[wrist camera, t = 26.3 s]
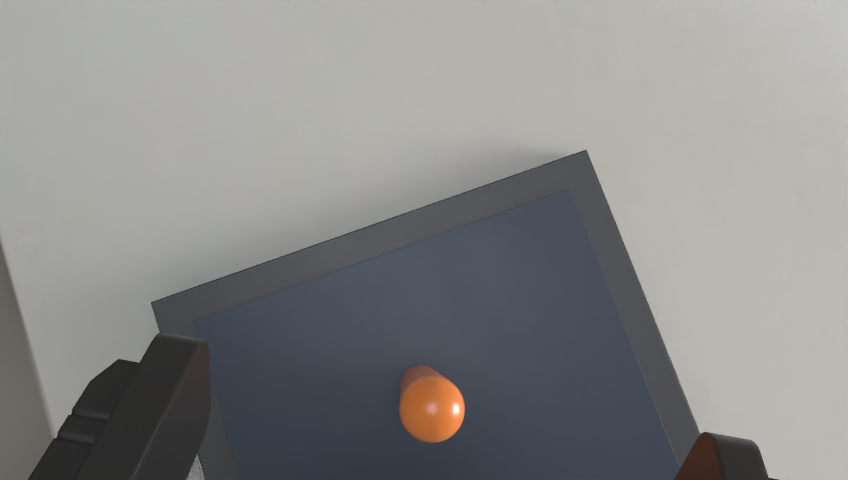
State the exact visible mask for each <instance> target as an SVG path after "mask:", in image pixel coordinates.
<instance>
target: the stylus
mask: <svg viewBox="0 0 848 480" xmlns="http://www.w3.org/2000/svg"><path fill="white" fill-rule="evenodd" d="M464 414H465V405H464V400H463V397H462V394H461V392H460V391H459V389H458V388H457V387H456V386H455V385H454V384H453V383H452V382H451V381H449V380H448V379H446V378H445V377H443V376H442V375H441V374H439V373H438V372H436V371H435V370H433V369H432V368H430V367H428V366H425V365H415V366H413V367H411V368H409V369H408V370H407V371H406V372H405V373H404V375H403V377H402V381H401V391H400V402H399V415H400V419H401V422H402V424H403V426H404V428H405V429H406V430H407V432H408V433H409V434H410V435H412V436H413V437H414V438H416V439H418V440H420V441H423V442H427V443H437V442H441V441H444V440H447V439H448V438H450V437H451V436H453V435H454V434H455V433H456V432H457V431H458V429H459V428H460V426H461V424H462V422H463V419H464Z"/></svg>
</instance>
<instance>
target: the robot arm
mask: <svg viewBox="0 0 848 480" xmlns="http://www.w3.org/2000/svg"><path fill="white" fill-rule="evenodd" d="M210 411H211V383H210V358H209V345H208V342H207V341H206V340H202V339H196V338H190V337H185V336H179V335H174V334H168V333H163V332H161V333H158V334H157V335H156V336H155V338H154V339H153V341H152V342H151V344H150V346H149V347H148V349H147V351H146V353H145V354H144V356H143V358H142V360H141V361H140V363H138V362H132V361H127V360H121V359H118V360H117V361H115V362H114V363H113V364H112V365H110V366H109V367H108V368H106V369H105V370H104V371H103V372H101V373H100V374H99V375H97V376H96V377H95V378H94V379H92V380H91V381H90V382H89V384H88V385H87V387H86V388H85V390H84V392H83V393H82V395H81V396H80V398H79V399H78V401H77V403H76V404H75V406H74V407H73V409H72V414H71V415H68V417H67V418H66V420H65V422H64V423H63V425H62V426H61V428H60V430H59V431H58V435H57V438H56V439H55V438H54V439H53V441H52V442H51V444H50V445H49V447H48V449H47V450H46V452H45V453H44V455H43V456H42V458H41V460H40V461H39V463H38V465H37V466H36V468H35V470H34V471H33V472H32V474H31V475H30V477H29V479H28V480H186V478H187V476H188V474H189V471H190V469H191V467H192V464H193V462H194V460H195V457H196V455H197V453H198V450H199V448H200V446H201V443H202V441H203V439H204V436H205V433H206V429H207V426H208V422H209V417H210ZM674 480H777V479H772V478H768V475H767V472H766V468H765V465H764V462H763V459H762V456H761V453H760V450H759V448H758V446H757V445H756V444H755V442H753V441H752V440H747V439H742V438H736V437H731V436H725V435H719V434H714V433H708V432H703V433H702V434H700V436H699V437H698V438H697V440H696V442H695V443H694V445H693V447H692V448H691V450H690V452H689V454H688V455H687V457H686V459H685V461H684V462H683V464H682V466H681V468H680V469H679V471H678V473H677V474H676V476H675V478H674Z"/></svg>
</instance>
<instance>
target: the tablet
mask: <svg viewBox="0 0 848 480" xmlns="http://www.w3.org/2000/svg"><path fill="white" fill-rule="evenodd" d="M151 304H152V308H153V311H154V314H155V317H156V321H157V324H158V327H159V330H160V333H161V332H163V333H168V334H174V335H179V336H185V337H190V338H196V339H202V340H206V341H207V342H208V345H209V358H210V383H211V411H210V417H209V422H208V426H207V429H206V433H205V436H204V439H203V441H202V443H201V446H200V448H199V450H198V456H199V459H200V462H201V466H202V469H203V472H204V475H205V479H206V480H674V478H675V476H676V474H677V473H678V471H679V469H680V468H681V466H682V464H683V462H684V461H685V459H686V457H687V455H688V454H689V452H690V450H691V448H692V447H693V445H694V443H695V442H696V440H697V438H698V437H699V436H700V431H699V429H698V426H697V424H696V421H695V419H694V416H693V414H692V411H691V409H690V406H689V404H688V401H687V399H686V396H685V394H684V391H683V389H682V386H681V384H680V382H679V379H678V377H677V374H676V372H675V369H674V367H673V364H672V362H671V359H670V357H669V354H668V352H667V349H666V347H665V344H664V342H663V339H662V337H661V334H660V332H659V329H658V327H657V324H656V322H655V319H654V317H653V314H652V312H651V309H650V307H649V304H648V302H647V300H646V297H645V295H644V292H643V290H642V287H641V285H640V282H639V280H638V277H637V275H636V272H635V270H634V267H633V265H632V262H631V260H630V257H629V255H628V252H627V250H626V247H625V245H624V242H623V240H622V237H621V235H620V232H619V230H618V227H617V225H616V222H615V220H614V218H613V215H612V213H611V210H610V208H609V205H608V203H607V200H606V198H605V195H604V193H603V190H602V188H601V185H600V183H599V180H598V178H597V175H596V173H595V170H594V168H593V165H592V163H591V160H590V158H589V155H588V153H587V151H586V150H584V151H581V152H579V153H576V154H573V155H570V156H567V157H564V158H561V159H559V160H556V161H553V162H550V163H547V164H544V165H542V166H539V167H536V168H533V169H530V170H527V171H524V172H522V173H519V174H516V175H513V176H510V177H507V178H504V179H502V180H499V181H496V182H493V183H490V184H487V185H484V186H482V187H479V188H476V189H473V190H470V191H467V192H464V193H462V194H459V195H456V196H453V197H450V198H447V199H444V200H442V201H439V202H436V203H433V204H430V205H427V206H425V207H422V208H419V209H416V210H413V211H410V212H407V213H405V214H402V215H399V216H396V217H393V218H390V219H387V220H385V221H382V222H379V223H376V224H373V225H370V226H367V227H365V228H362V229H359V230H356V231H353V232H350V233H347V234H345V235H342V236H339V237H336V238H333V239H330V240H327V241H325V242H322V243H319V244H316V245H313V246H310V247H308V248H305V249H302V250H299V251H296V252H293V253H290V254H288V255H285V256H282V257H279V258H276V259H273V260H270V261H268V262H265V263H262V264H259V265H256V266H253V267H250V268H248V269H245V270H242V271H239V272H236V273H233V274H230V275H228V276H225V277H222V278H219V279H216V280H213V281H210V282H208V283H205V284H202V285H199V286H196V287H193V288H191V289H188V290H185V291H182V292H179V293H176V294H173V295H171V296H168V297H165V298H162V299H159V300H156V301H153V302H151ZM415 365H425V366H428V367H430V368H432V369H433V370H435V371H436V372H438V373H439V374H441V375H442V376H443V377H445V378H446V379H448V380H449V381H451V382H452V383H453V384H454V385H455V386H456V387H457V388H458V389H459V391H460V392H461V394H462V397H463V400H464V405H465V414H464V419H463V422H462V424H461V426H460V428H459V429H458V431H457V432H456V433H455V434H454V435H453V436H451V437H450V438H448V439H447V440H444V441H441V442H437V443H427V442H423V441H420V440H418V439H416V438H414V437H413V436H412V435H410V434H409V433H408V432H407V430H406V429H405V428H404V426H403V424H402V422H401V419H400V415H399V402H400V391H401V381H402V377H403V375H404V373H405V372H406V371H407V370H408V369H409V368H411V367H413V366H415Z"/></svg>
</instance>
